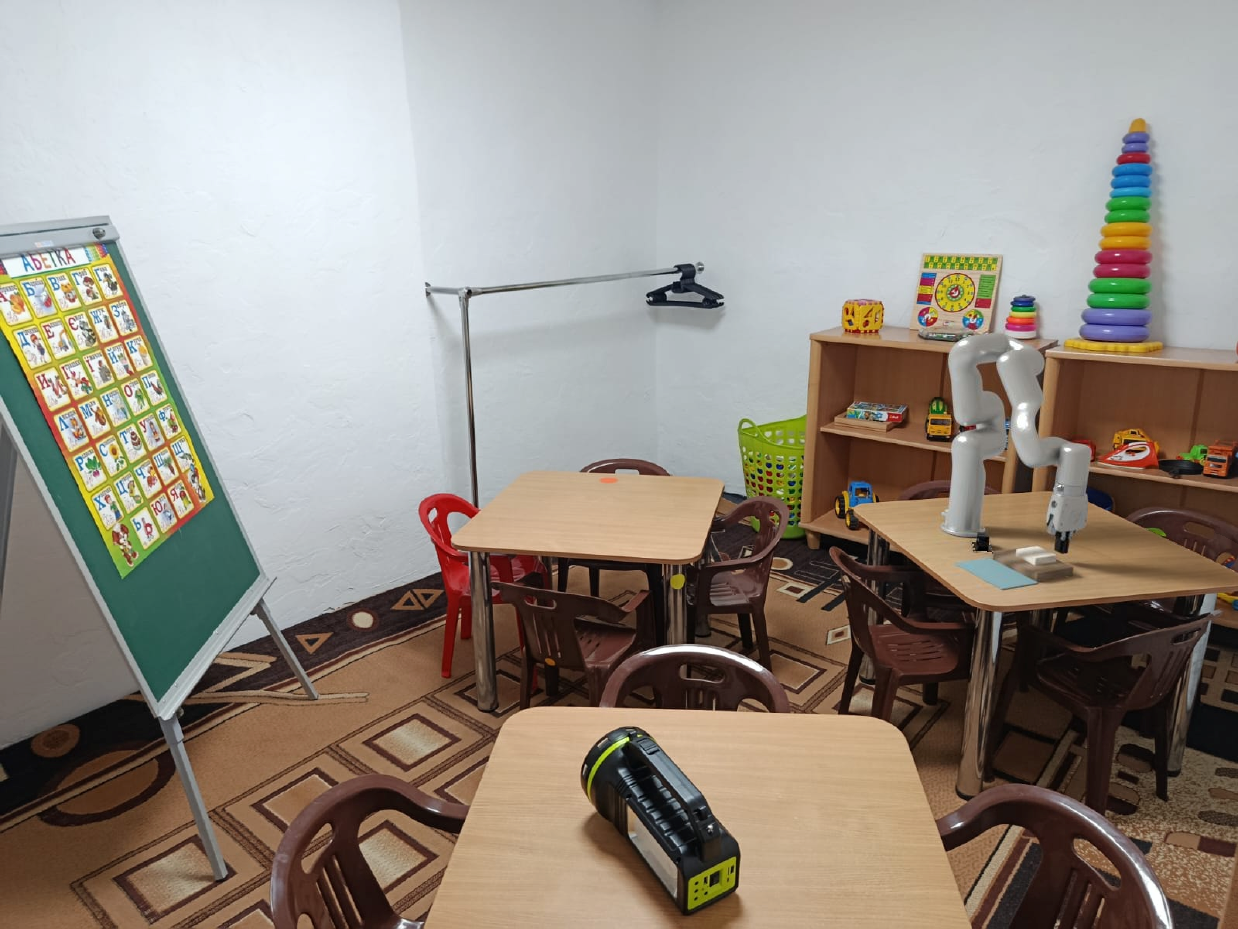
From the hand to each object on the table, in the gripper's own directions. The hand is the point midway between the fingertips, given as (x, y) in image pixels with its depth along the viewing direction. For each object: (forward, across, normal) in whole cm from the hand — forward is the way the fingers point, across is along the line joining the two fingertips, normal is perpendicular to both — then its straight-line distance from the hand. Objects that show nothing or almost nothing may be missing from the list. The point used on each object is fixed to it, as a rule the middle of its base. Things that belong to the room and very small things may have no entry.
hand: (1060, 551), depth 229 cm
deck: (+3, -10, 0) cm, 10 cm away
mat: (+3, -22, 0) cm, 22 cm away
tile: (+1, -9, 0) cm, 9 cm away
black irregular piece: (+4, -12, +17) cm, 21 cm away
